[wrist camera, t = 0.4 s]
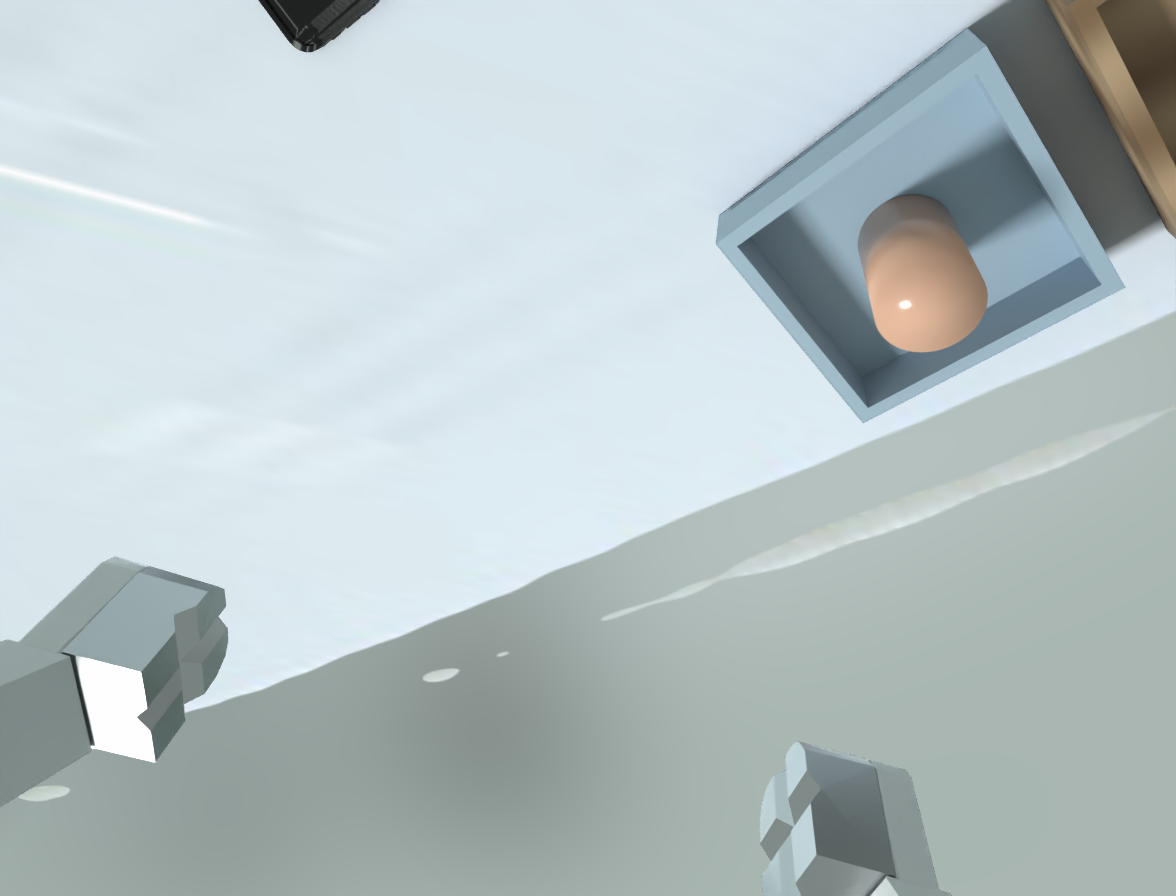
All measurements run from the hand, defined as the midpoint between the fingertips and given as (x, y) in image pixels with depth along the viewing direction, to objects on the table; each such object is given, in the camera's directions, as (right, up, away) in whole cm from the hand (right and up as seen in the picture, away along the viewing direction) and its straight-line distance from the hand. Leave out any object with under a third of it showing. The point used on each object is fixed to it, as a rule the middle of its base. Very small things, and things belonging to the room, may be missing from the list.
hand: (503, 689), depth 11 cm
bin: (+19, +15, +32) cm, 40 cm away
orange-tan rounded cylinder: (+19, +15, +32) cm, 40 cm away
